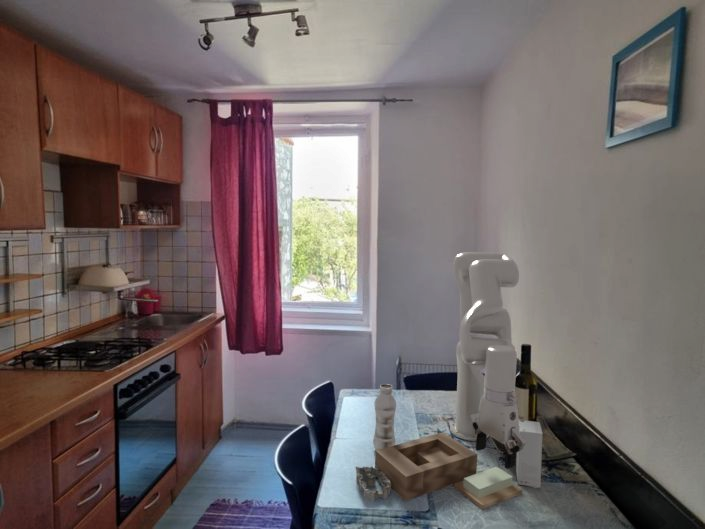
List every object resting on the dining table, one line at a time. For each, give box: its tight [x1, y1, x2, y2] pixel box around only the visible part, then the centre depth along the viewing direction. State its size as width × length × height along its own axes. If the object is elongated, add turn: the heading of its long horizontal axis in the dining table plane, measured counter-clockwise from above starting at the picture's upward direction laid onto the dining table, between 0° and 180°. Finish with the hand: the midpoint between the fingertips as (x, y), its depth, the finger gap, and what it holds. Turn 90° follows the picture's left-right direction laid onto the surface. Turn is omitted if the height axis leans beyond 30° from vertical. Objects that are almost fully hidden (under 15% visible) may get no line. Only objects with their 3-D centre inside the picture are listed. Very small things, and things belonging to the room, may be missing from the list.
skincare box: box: [515, 419, 544, 489], centre depth 119 cm, size 8×6×15 cm
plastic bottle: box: [372, 383, 397, 450], centre depth 132 cm, size 6×7×20 cm
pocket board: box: [374, 432, 478, 502], centre depth 120 cm, size 24×14×6 cm, turn 119°
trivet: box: [453, 480, 523, 510], centre depth 114 cm, size 14×10×1 cm
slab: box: [463, 466, 514, 498], centre depth 114 cm, size 12×5×2 cm, turn 120°
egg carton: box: [355, 466, 391, 502], centre depth 114 cm, size 11×8×4 cm
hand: (494, 457), depth 114 cm, fingers open, 9 cm apart
